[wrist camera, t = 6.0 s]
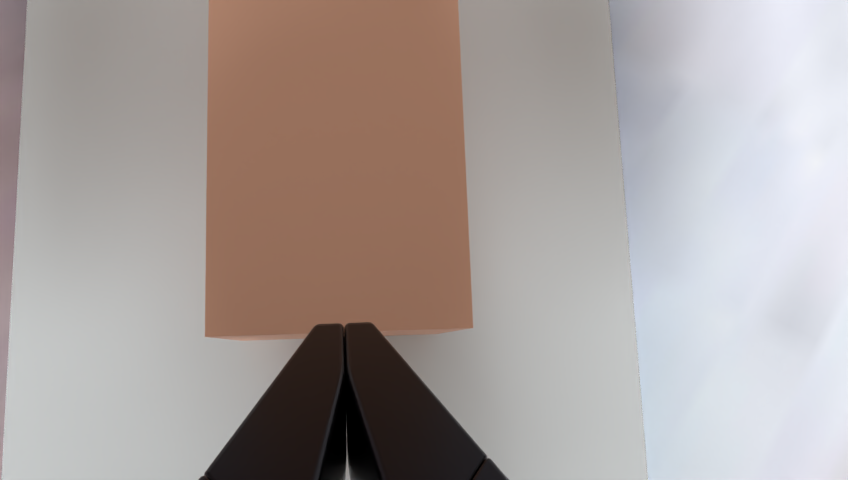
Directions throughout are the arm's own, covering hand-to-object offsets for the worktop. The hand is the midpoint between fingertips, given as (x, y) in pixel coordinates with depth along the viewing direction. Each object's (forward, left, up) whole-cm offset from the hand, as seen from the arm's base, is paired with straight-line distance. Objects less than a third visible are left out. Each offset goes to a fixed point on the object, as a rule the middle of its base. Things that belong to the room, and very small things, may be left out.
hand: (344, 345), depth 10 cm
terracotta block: (0, 0, -5) cm, 6 cm away
